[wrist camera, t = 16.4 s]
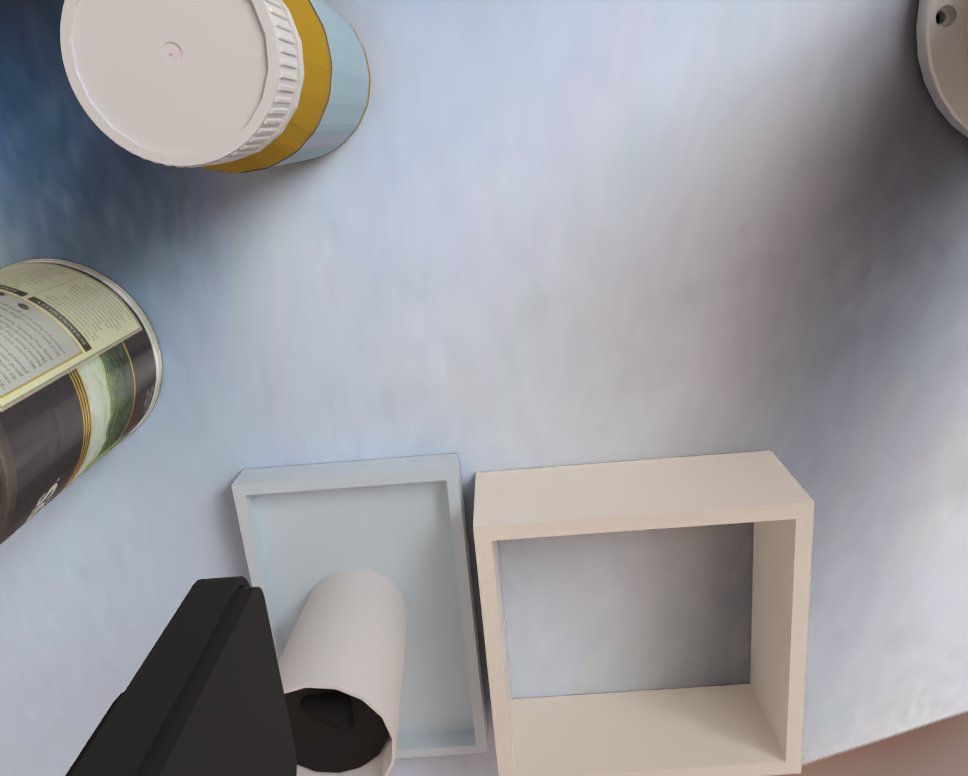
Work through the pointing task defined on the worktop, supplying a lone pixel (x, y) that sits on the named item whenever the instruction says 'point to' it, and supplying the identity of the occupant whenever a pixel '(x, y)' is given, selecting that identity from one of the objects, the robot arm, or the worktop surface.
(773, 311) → the worktop surface
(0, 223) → the worktop surface
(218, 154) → the bottle
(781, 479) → the open beige storage bin
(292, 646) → the white cup
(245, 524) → the tray
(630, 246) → the worktop surface
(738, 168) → the worktop surface
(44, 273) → the coffee can
